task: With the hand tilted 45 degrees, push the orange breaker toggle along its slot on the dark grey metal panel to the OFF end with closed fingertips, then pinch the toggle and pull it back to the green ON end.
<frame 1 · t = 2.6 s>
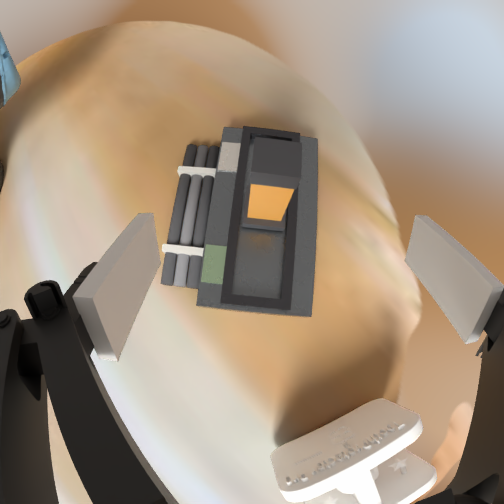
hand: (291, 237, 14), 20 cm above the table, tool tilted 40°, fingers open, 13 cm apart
breaker panel: (261, 220, 35), on the table
cable organizer: (336, 449, 29), on the table
cord bundle: (191, 213, 35), on the table
breaker toggle: (269, 188, 27), point 9 cm above the table, slide at 0.0 cm
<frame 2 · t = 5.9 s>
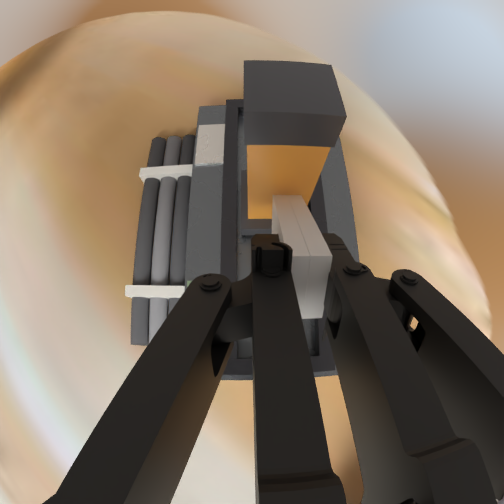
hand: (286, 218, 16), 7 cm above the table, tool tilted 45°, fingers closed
breaker panel: (270, 231, 24), on the table
cord bundle: (165, 233, 23), on the table
breaker toggle: (280, 161, 15), point 9 cm above the table, slide at 0.8 cm, touching gripper
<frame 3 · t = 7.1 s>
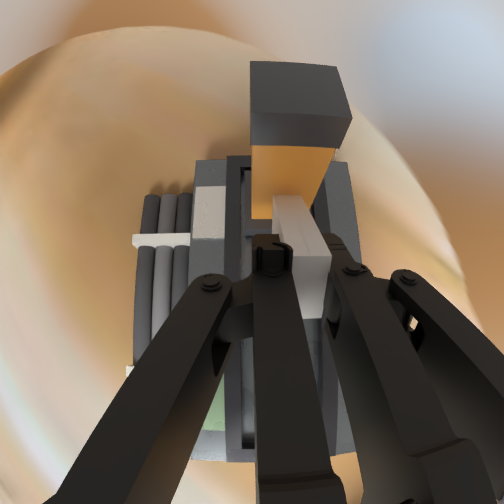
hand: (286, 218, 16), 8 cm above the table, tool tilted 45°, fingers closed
breaker panel: (275, 308, 22), on the table
cord bundle: (164, 307, 22), on the table
breaker toggle: (284, 162, 15), point 9 cm above the table, slide at 6.8 cm, touching gripper
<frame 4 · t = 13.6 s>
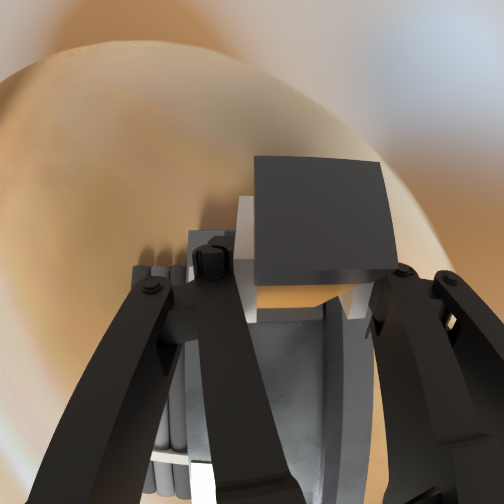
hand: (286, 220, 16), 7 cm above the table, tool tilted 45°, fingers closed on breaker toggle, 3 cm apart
breaker panel: (278, 392, 19), on the table
cord bundle: (160, 389, 19), on the table
breaker toggle: (295, 263, 13), point 9 cm above the table, slide at 7.2 cm, touching gripper
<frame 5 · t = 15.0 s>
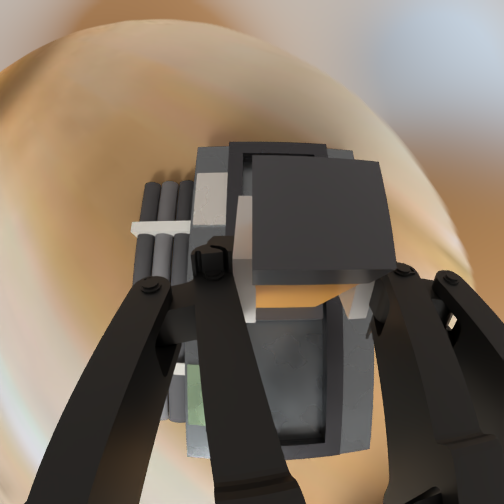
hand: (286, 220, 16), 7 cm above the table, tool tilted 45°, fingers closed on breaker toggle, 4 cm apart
breaker panel: (278, 299, 21), on the table
cord bundle: (162, 298, 21), on the table
breaker toggle: (295, 262, 13), point 9 cm above the table, slide at 0.5 cm, touching gripper
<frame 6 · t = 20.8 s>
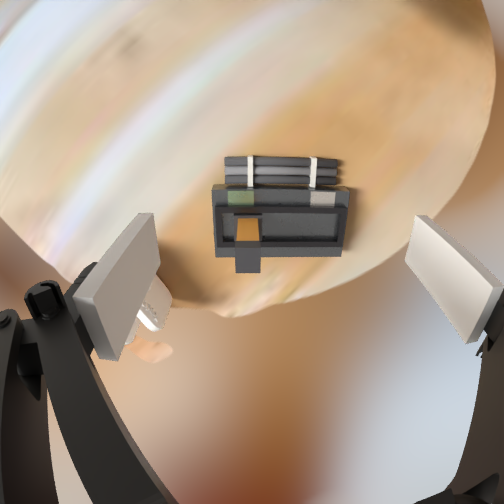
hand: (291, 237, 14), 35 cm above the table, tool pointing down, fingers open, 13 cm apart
breaker panel: (279, 217, 51), on the table
cable organizer: (136, 276, 56), on the table
cord bundle: (281, 169, 47), on the table
breaker toggle: (247, 241, 43), point 9 cm above the table, slide at -5.4 cm
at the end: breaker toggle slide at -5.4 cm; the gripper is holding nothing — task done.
